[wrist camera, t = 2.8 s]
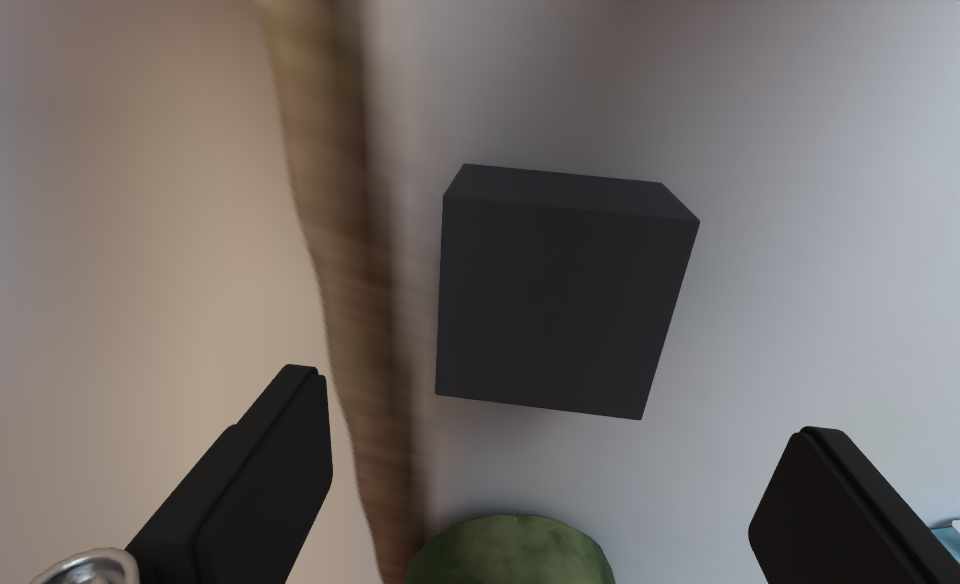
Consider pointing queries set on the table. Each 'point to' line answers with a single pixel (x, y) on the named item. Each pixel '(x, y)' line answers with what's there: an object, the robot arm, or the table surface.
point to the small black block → (557, 288)
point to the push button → (950, 538)
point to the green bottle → (510, 554)
